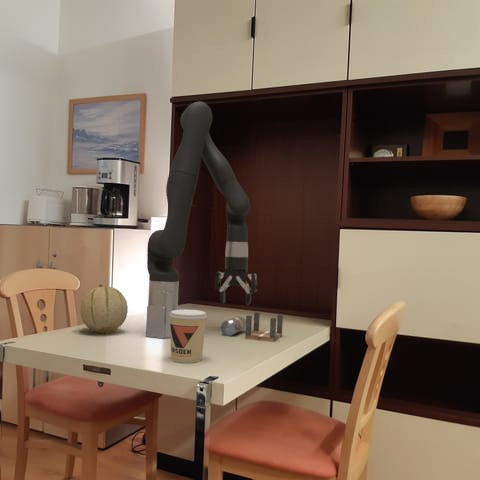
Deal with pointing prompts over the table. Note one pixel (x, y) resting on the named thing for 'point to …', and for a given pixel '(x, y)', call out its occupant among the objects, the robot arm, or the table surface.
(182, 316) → the coffee cup
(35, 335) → the table surface
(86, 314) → the cantaloupe
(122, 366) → the table surface
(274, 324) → the cylinder holder stand
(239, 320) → the grey cylinder
